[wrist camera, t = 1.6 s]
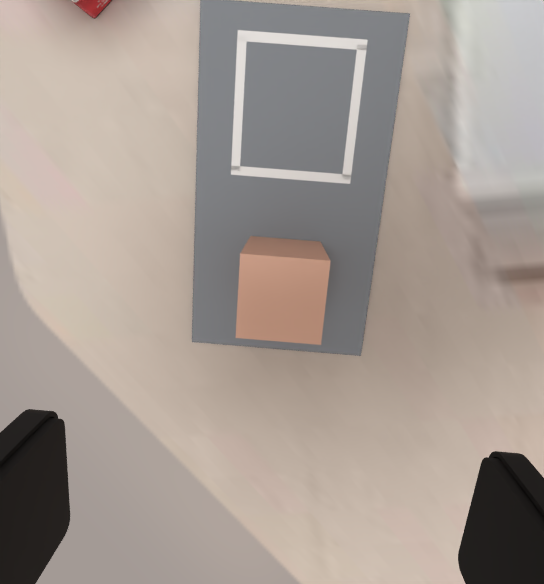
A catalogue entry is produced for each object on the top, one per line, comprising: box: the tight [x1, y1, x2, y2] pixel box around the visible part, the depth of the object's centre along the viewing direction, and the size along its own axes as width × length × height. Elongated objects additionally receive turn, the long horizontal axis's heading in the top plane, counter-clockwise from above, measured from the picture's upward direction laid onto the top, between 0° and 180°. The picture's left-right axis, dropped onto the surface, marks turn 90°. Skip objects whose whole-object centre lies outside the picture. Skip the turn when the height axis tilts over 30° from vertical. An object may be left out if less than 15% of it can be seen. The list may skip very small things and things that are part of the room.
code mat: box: [192, 0, 410, 356], centre depth 29 cm, size 13×23×1 cm, turn 176°
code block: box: [236, 236, 331, 345], centre depth 27 cm, size 5×5×7 cm
